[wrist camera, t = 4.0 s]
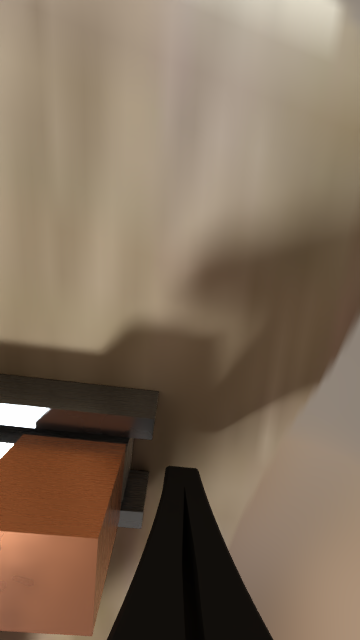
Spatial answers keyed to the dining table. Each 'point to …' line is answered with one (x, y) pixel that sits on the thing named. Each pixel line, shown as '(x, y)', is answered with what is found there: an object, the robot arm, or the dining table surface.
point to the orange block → (57, 526)
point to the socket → (85, 420)
